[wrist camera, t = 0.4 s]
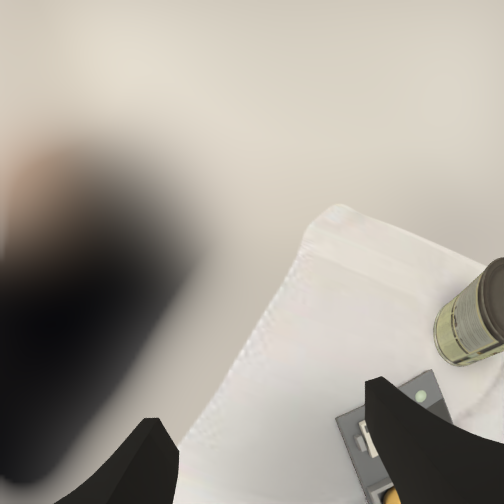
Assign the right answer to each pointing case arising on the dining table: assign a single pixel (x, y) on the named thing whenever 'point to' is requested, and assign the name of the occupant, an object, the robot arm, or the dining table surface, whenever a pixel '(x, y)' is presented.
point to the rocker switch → (368, 439)
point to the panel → (373, 469)
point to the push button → (391, 497)
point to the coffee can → (473, 319)
